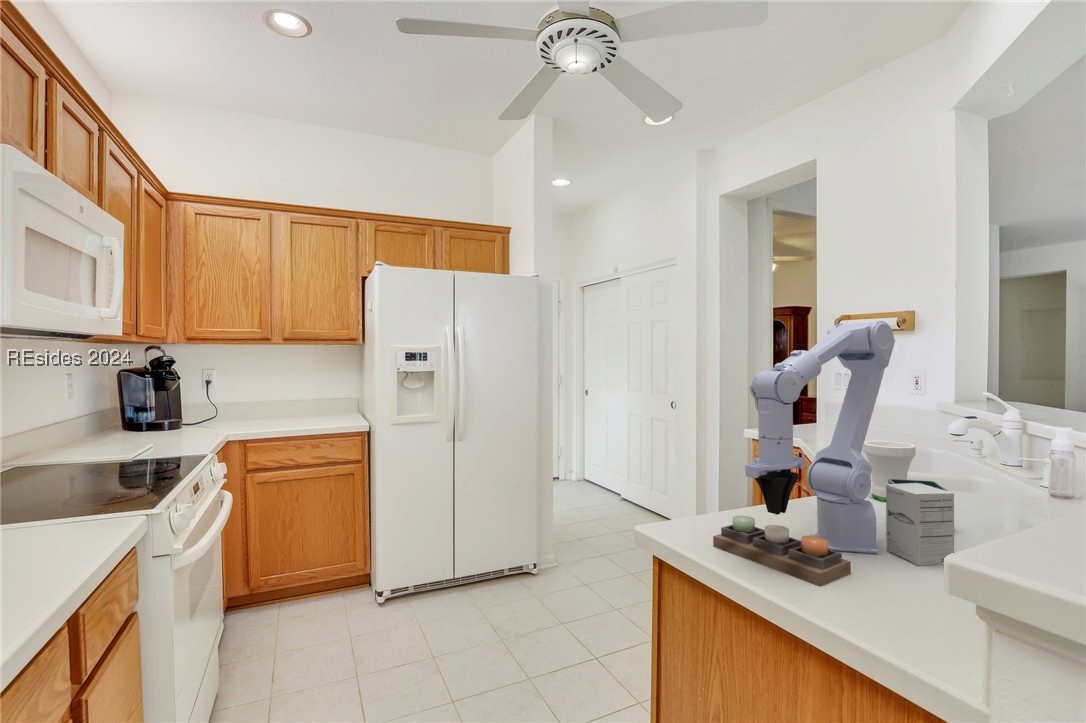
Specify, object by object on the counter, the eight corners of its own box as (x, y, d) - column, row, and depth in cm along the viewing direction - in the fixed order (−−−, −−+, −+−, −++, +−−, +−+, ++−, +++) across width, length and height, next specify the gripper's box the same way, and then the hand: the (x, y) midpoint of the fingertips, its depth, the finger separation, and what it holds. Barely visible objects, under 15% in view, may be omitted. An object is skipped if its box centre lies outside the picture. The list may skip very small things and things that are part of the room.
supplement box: (884, 550, 96) (883, 483, 96) (921, 549, 96) (920, 482, 96) (916, 566, 88) (915, 493, 88) (956, 564, 89) (955, 491, 89)
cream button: (760, 538, 93) (760, 527, 93) (773, 534, 95) (773, 523, 95) (780, 544, 90) (780, 533, 90) (793, 540, 92) (793, 529, 92)
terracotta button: (796, 550, 87) (796, 538, 87) (810, 545, 89) (809, 534, 89) (819, 557, 84) (819, 545, 84) (833, 552, 86) (833, 540, 86)
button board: (713, 546, 99) (713, 528, 99) (743, 537, 104) (743, 520, 104) (820, 586, 81) (819, 564, 81) (850, 573, 86) (850, 552, 86)
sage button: (728, 528, 99) (728, 517, 99) (741, 524, 101) (741, 514, 101) (745, 533, 96) (745, 523, 96) (759, 529, 98) (759, 519, 98)
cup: (917, 507, 123) (917, 448, 123) (863, 501, 129) (862, 445, 129) (914, 497, 132) (914, 442, 132) (864, 491, 138) (863, 439, 138)
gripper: (779, 431, 100) (780, 501, 100) (730, 437, 92) (731, 513, 92) (815, 435, 94) (816, 509, 94) (765, 442, 86) (766, 523, 86)
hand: (776, 512), depth 92 cm, fingers closed
